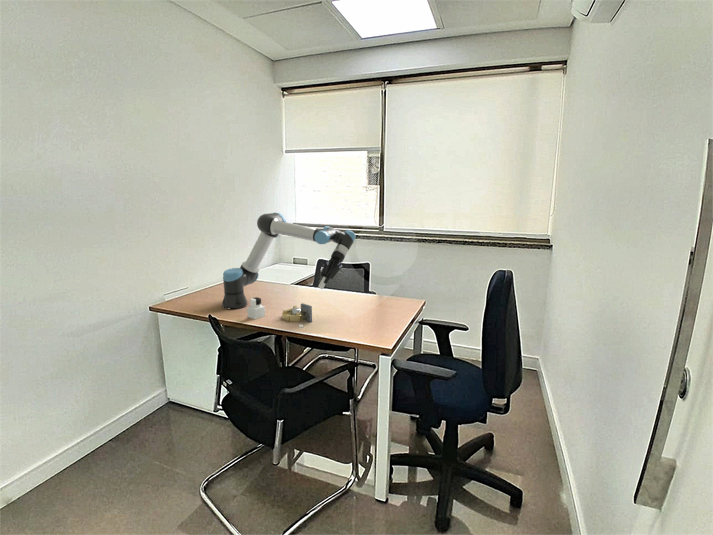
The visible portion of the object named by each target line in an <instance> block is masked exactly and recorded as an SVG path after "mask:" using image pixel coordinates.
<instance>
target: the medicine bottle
mask: <svg viewBox="0 0 713 535" xmlns="http://www.w3.org/2000/svg"><path fill="white" fill-rule="evenodd" d="M249 304H250V306H246V310H247V318H250V319H253V320H258V319H261V318H264V317H266V306H265V305H262V299H261V298H260V297H257V296H256V297H252V298H250V299H249Z"/></svg>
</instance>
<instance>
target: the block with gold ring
mask: <svg viewBox="0 0 713 535" xmlns="http://www.w3.org/2000/svg"><path fill="white" fill-rule="evenodd" d="M293 308H298V307H297V305H292V307H291V308H287V309H283V310H282V315H281V317H282V320H284V321H286V322H293V323H294V322H297V323H298V322H304V321H305V322H308V323H312V322H313V306H312V305H310V304H307V303H303V302H302V303H300V308H301V315H300V312H299V313H296V315H292V309H293Z"/></svg>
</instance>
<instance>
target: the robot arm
mask: <svg viewBox="0 0 713 535" xmlns="http://www.w3.org/2000/svg"><path fill="white" fill-rule="evenodd" d="M256 226H257V228H258V230H259V231H260V233H259V235H258V237H257V239H256V241H255V243H254V245H253V247H252V249H251V251H250V252H249V255H248V257H247V258H246V260H245V261H243V262H242V263H241V265H240V267H232V268H228V269H226V270H224V272H223V273H222V274H223V277H222V279H223V292H224V296H223V299H222V303H221V306H223V307H224V308H223V307H222V308H223V309H225V308H230V309H229V310H232V309H231V308H239V309H242V308H241V307H243V308H245V307H244V306H246V305H247V306H248V301H247V297H246V295H245V291H244V288H245V287H246V286H249V285H251V284H254V283H255V282H256V281H257V280H258V278H259V270H260V269H259V267H260V265H261V263H262V261H263V259H264V258H265V255H266V253H267V251H268V249H269V247H270V245H271V244H272V242H273V240H274V239H275V238H278V236H279V235H281V236H282V235H283V236H287V237H292V238H297V239H300V240H306V241H311V242H315V243H317V244H319V245H326V244H328V243H330V242H333V243H335V244H337V245H336V246H335V248H334V250H333V251H332V254H331V257H330V259H329V260H328V261H327V260H326V261H324V265H323V268H322V270H321V274H320V276H322V278H321V279H320V282H319V284H318V288H319V289H320V290H323V289H324V288H325V286H326V285H327V284H328V281H329V280H333V278H334V277H335V276H336V275H337V274H338V273H339V271H340V270H341V269H342V268H343V267H344V266H343V265H342V263H343V262H344V260H345V258H346V256H347V255H348V253H349V251H350V249H351V247H352V245H353V244H354V242H355V240H356V238H357V235H356V234H355V232H354V231H353V230H349V229H346V230H345V231H341V230H338V229H336V228H333V227H332V226H328V225H325V226H324V227H323V228H322V229H321V228H320V229H319V228H315V227H311V226H306V225H301V224H296V223H293V222H287V220H286V218H285V216H284V215H283V214H282V213H280V212H271V213H263V214H260V216H259V217H258V218H257V220H256ZM247 306H246V307H247Z"/></svg>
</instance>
